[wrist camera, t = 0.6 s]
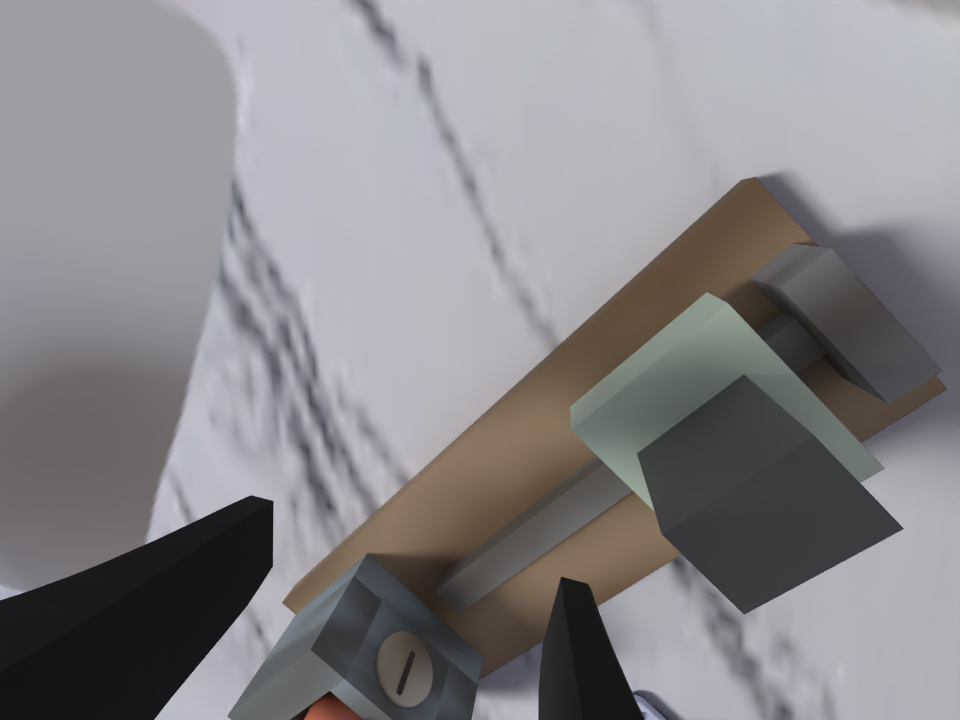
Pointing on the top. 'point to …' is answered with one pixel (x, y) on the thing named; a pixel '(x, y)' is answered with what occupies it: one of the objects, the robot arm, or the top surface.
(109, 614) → the robot arm
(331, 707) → the button
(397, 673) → the rail base
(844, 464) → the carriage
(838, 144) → the top surface
